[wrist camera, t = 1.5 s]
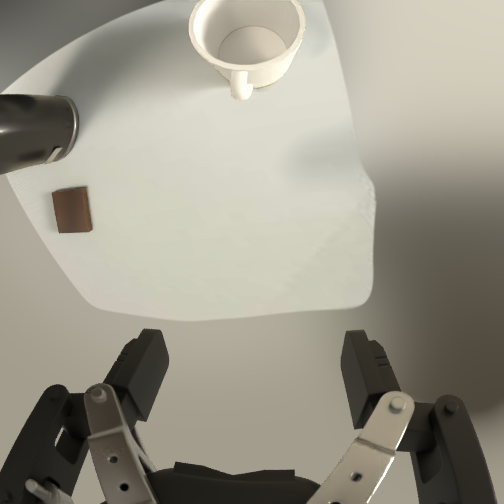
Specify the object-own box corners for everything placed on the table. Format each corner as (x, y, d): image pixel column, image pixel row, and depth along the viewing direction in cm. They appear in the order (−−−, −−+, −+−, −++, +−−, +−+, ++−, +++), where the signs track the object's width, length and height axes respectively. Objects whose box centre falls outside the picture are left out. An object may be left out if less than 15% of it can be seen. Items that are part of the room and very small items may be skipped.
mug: (218, 21, 23) (198, -20, 14) (298, 28, 23) (309, -14, 14) (205, 107, 28) (176, 93, 18) (287, 115, 28) (296, 103, 18)
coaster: (62, 230, 34) (58, 233, 33) (55, 191, 32) (51, 192, 31) (92, 230, 34) (88, 232, 33) (86, 186, 32) (81, 188, 31)
